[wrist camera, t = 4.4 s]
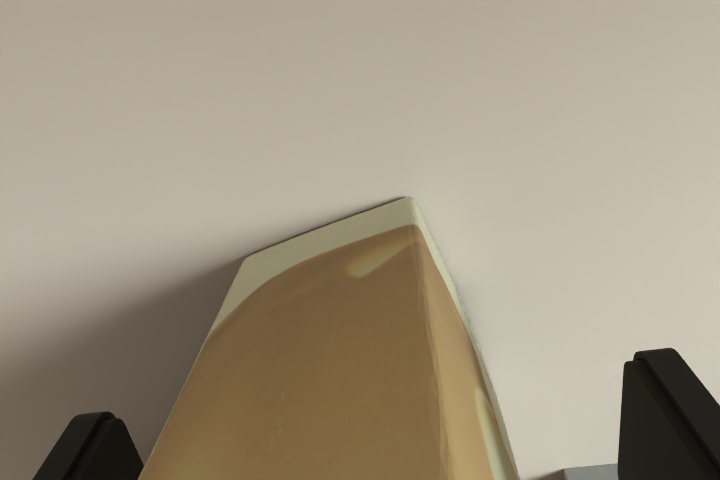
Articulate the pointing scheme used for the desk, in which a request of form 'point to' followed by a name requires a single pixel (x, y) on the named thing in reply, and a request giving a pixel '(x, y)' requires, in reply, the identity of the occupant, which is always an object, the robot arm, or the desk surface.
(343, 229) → the skincare box
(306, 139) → the desk surface
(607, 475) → the slate grey block
